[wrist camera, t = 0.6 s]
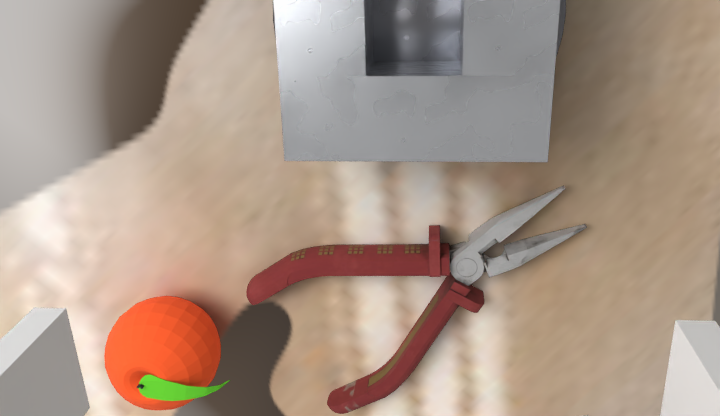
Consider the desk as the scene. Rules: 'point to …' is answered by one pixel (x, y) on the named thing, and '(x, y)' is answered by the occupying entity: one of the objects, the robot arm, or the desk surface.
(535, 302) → the desk surface
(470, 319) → the desk surface
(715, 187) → the desk surface
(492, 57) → the chuck block
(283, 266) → the pliers
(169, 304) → the clementine
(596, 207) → the desk surface
